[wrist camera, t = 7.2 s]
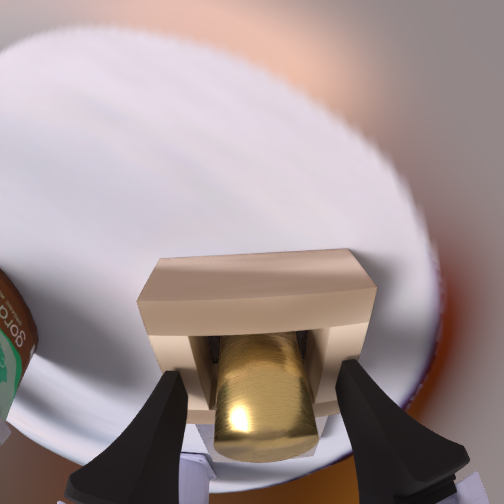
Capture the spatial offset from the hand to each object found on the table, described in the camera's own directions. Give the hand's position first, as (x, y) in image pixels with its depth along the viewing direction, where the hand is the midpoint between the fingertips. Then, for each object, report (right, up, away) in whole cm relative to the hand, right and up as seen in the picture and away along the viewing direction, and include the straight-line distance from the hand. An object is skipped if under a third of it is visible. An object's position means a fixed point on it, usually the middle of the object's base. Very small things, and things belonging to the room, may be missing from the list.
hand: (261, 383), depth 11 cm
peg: (0, +1, +4) cm, 4 cm away
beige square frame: (0, +2, +3) cm, 4 cm away
